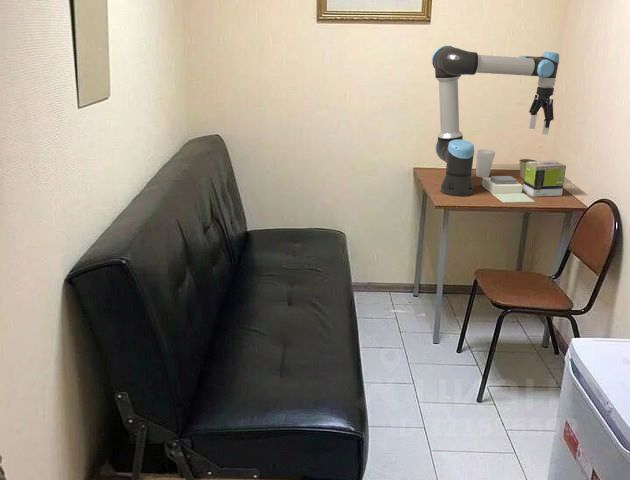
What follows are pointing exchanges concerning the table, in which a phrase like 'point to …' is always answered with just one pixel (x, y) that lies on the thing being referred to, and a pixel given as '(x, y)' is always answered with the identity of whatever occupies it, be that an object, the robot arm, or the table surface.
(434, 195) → the table surface
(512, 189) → the plate
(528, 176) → the tea box
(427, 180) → the table surface
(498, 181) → the rectangular block
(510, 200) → the mat
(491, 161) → the foam cup
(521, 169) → the flower pot
